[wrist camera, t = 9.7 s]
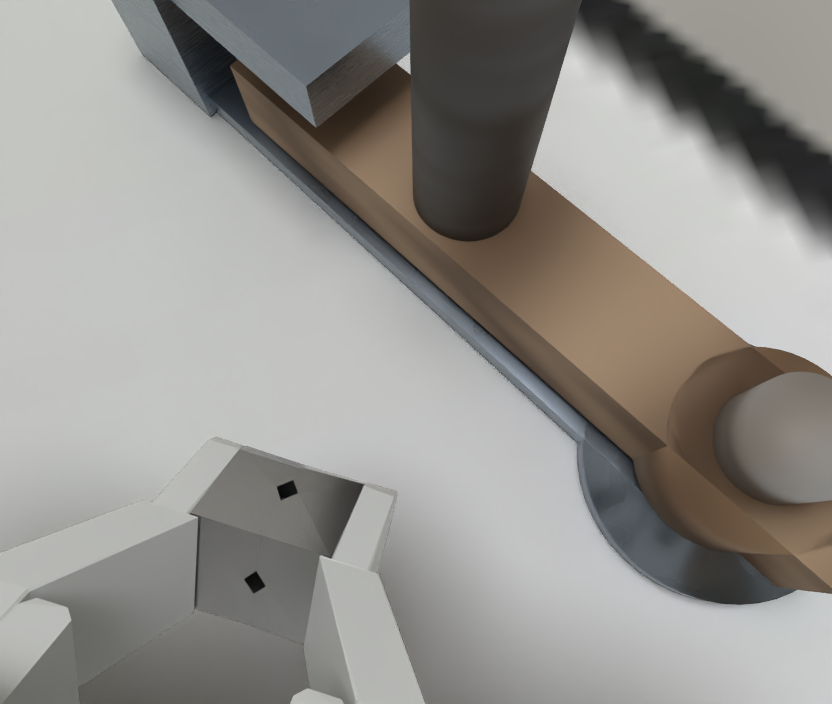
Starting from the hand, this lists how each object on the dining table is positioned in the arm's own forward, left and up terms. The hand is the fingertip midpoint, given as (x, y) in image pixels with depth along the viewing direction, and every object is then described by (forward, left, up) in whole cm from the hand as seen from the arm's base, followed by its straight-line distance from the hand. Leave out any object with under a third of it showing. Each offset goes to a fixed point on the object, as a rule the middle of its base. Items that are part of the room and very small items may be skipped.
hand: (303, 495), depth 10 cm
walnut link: (+8, -3, -7) cm, 11 cm away
